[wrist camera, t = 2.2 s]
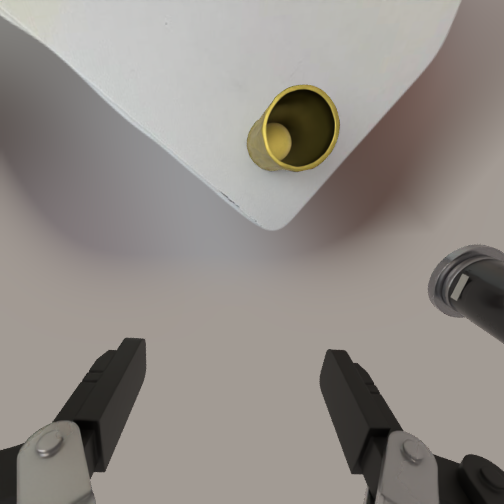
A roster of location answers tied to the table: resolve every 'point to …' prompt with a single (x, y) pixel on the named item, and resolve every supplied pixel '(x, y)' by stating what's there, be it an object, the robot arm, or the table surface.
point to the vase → (295, 130)
